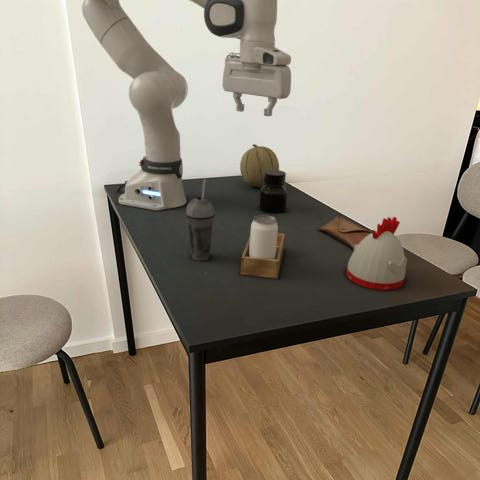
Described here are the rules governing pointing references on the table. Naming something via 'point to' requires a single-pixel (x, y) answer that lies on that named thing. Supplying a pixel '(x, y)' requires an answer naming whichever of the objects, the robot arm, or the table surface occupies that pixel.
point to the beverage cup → (200, 226)
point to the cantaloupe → (257, 165)
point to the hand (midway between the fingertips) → (253, 113)
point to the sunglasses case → (345, 231)
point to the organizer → (263, 261)
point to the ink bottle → (273, 192)
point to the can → (263, 237)
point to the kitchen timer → (379, 259)
